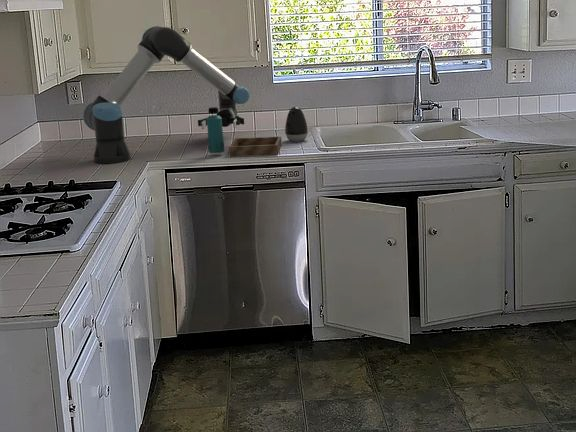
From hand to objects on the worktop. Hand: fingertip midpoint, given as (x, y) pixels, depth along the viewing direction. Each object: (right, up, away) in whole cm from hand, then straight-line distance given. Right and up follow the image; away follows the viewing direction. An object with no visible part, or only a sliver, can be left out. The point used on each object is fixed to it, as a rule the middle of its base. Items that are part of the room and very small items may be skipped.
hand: (218, 125), depth 367 cm
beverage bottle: (0, -13, -6) cm, 15 cm away
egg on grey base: (+34, -5, +16) cm, 38 cm away
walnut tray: (+16, -11, -2) cm, 20 cm away
